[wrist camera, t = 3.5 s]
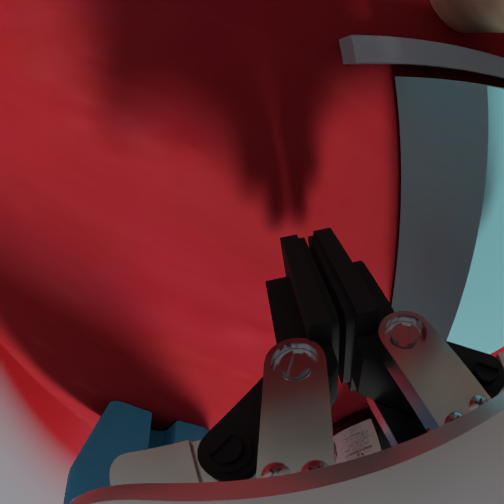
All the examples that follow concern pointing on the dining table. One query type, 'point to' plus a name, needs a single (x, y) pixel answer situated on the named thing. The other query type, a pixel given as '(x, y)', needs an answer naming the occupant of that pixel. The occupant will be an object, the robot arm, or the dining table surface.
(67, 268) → the dining table surface
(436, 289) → the socket block
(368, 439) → the ink bottle
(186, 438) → the block
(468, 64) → the backstop wall
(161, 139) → the dining table surface
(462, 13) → the dowel
